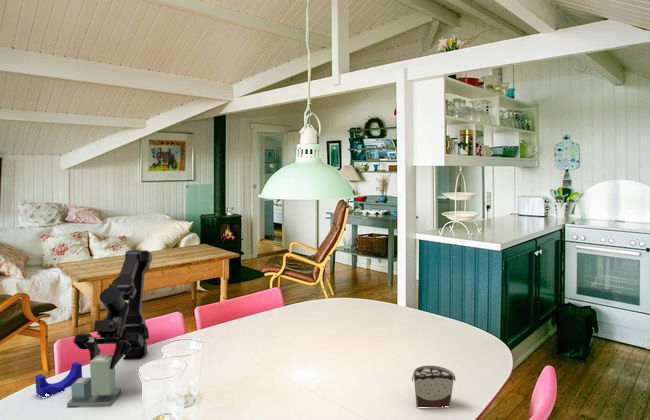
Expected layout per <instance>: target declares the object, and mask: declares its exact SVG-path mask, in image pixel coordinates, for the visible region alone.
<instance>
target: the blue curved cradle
mask: <svg viewBox="0 0 650 420" xmlns="http://www.w3.org/2000/svg"><path fill="white" fill-rule="evenodd" d="M82 367H83V366H82V363H81V362H78V361H75V362H72V363H71V368H70V370H69V372H68V374H67V375H66V376H65V377H64V378H63V379H62V380H60V381H58V382H54V383H49V382H48V381H47V379H46V376H45V375H43V374H41V373H40V374H39V373H38V374H36V375H35V377H34V378H35V394H36V393H37V394H38V395H40V396H42V397H46V396H45V394H46V393H47V394H49V395H52V394H55V393H58V392H60V393H62V392H61V391H63V392H65V391H66V390H65V389H67V388H69V386H70V387H71V385H72V384H73V383H74V382H75V381H76V380H77V379H78V378H83V368H82ZM66 387H67V388H66ZM64 390H65V391H64ZM58 394H59V393H58ZM38 395H37V396H38ZM55 395H56V394H55Z"/></svg>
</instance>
